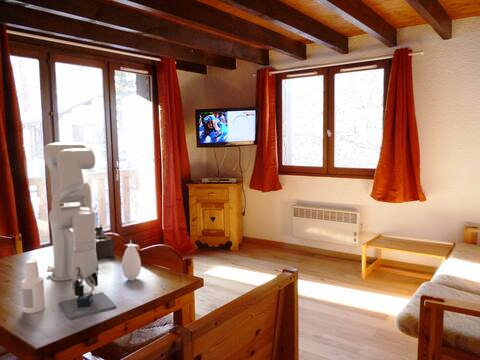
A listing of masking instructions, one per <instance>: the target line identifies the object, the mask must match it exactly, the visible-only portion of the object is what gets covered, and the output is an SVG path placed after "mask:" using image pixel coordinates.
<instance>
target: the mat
mask: <svg viewBox="0 0 480 360" xmlns="http://www.w3.org/2000/svg"><path fill="white" fill-rule="evenodd" d="M92 294H93V301H92V303H91V306H87V307H80V308H78V306H77V298H78V297H75V298H70V299H67V300H62V301H58V304H59V307H61V309H62V311H63V312H64V313H65V315H66V316H67V318H68V320H74V319H79V318H83V317H85V316H87V317H88V316H89V315H90V316H91V315H94V314H97V313H101V312H106V311H109V310H113V309H117V305H116V304H115V303H114V301H112V300H111V299H110V298H109V297H108V296H107V295H106V294H105V293H104V292H103V291H101V292H97V293H92Z"/></svg>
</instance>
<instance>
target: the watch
mask: <svg viewBox="0 0 480 360" xmlns="http://www.w3.org/2000/svg"><path fill="white" fill-rule="evenodd" d="M79 277H82V276H79ZM84 282H85V284H86V285H87V286H88V287H90V288H91V291H90V292H88V291H87V292H84V296H83V297H82V296H77V297H76V298H77V306H78V308H80V307H87V306H91V303H92V301H93V294H94V293H93V292H94V290H95V288H96V286H95V281H94V279H93V278H92V277H91V276H88V277H87V278H85V279H84ZM71 290H72V291H73V293H74V294H75V287H74V285H73V283H72V282H71Z"/></svg>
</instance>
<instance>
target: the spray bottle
mask: <svg viewBox="0 0 480 360" xmlns="http://www.w3.org/2000/svg"><path fill="white" fill-rule="evenodd" d="M25 263H26V264H25V265H26V266H25V278H24V279H23V280H22V281H21V288H22V292H21V293H22V305H23V308H22V309H23V312H24V313H25V314H37V313H40V312H41V311H43V310H44V309H45V308H46V304H45V287H44V286H45V285H44V277H42V276H40V275H39V274H40V273H39V265H38V260H37V259H30V260H27V261H26V262H25Z"/></svg>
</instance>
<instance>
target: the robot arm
mask: <svg viewBox="0 0 480 360" xmlns="http://www.w3.org/2000/svg"><path fill="white" fill-rule="evenodd" d="M43 157H44V161H45V163H46V166H47V168H48V170H49V174H50V190H51V192H50V193H51V197H52V199H51V210H50V212H49V214H48V218H49V223H50V227H51V235H52V248H53V249H52V250H53V251H52V253H53V254H52V255H53V265H49V266H48V267H47V269H46V272H48V273H49V272H50V273H51V274H50V279H51V280H53V281H58V282H62V281H63V282H64V281H70V280H71V284H72V283H73V285H74V287H75V293H74V296H75V297H78V296H82V297H83V296H84V293H85V291H84V290H85V285H83V284H84V282H85V280H84V279H85V278H87V277H88V276H91V277H92V278H93V279H94V281H95V287H98V286H99V283H98V282H99V279H98V275H99V269H100V268H99V266H100V265H99V264H100V261H98V260H97V254H96V238H95V236H96V231H95V227H96V222H95V221H96V219H95V218H96V216H95V215H96V214H95V212H94V210H93V209H92V191H91V188H90V185H89V183H88V182H87V181H85V180H84V176H83V170H92V169H94V167H95V166H96V156H95V154H94V151H93V150H92V149H91V147H90V146H89V145H88V144H86V143H85V142H53V143H52V142H51V143H48V144H45V146H44V147H43ZM73 203H79V204H77V205H65V206H61V204H62V205H63V204H73ZM79 276H82V277H79Z"/></svg>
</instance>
